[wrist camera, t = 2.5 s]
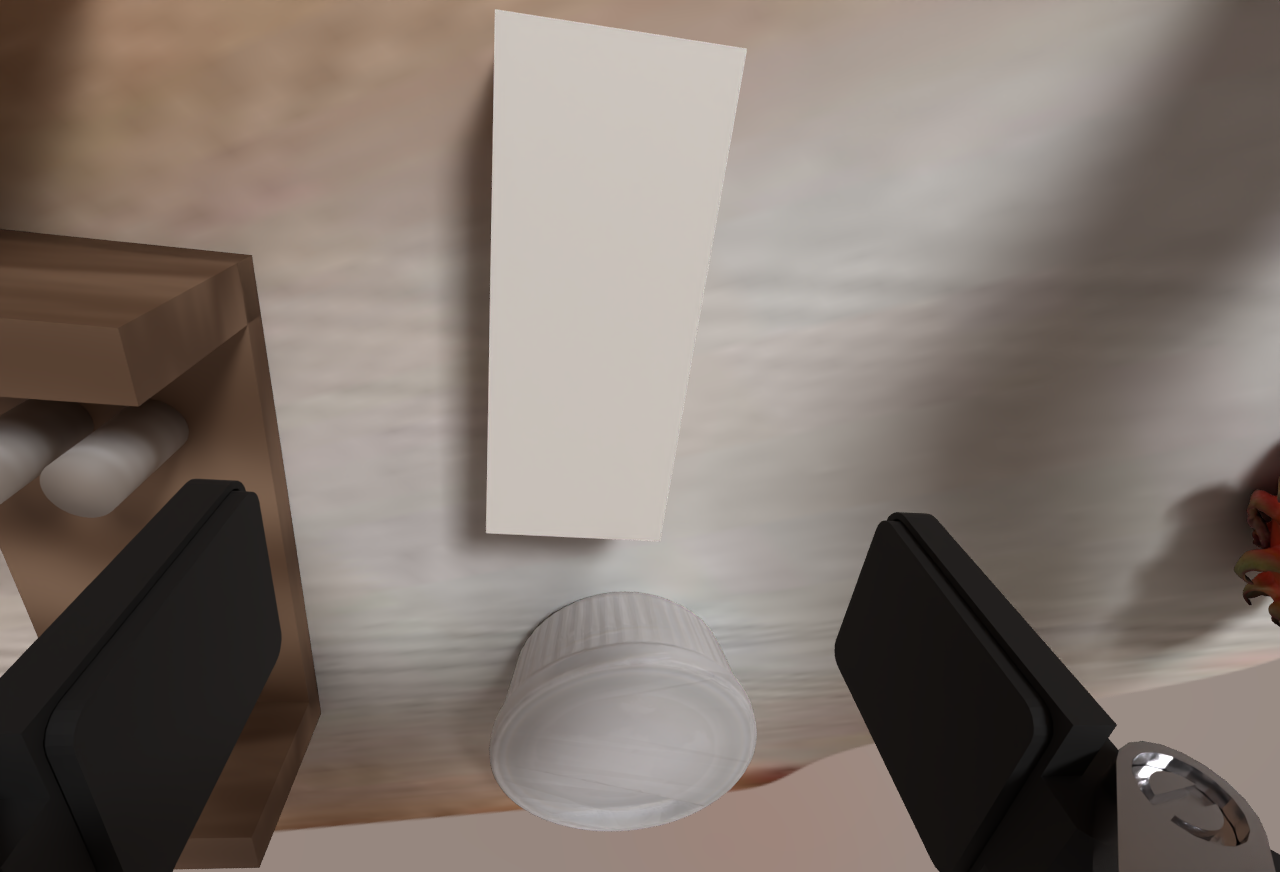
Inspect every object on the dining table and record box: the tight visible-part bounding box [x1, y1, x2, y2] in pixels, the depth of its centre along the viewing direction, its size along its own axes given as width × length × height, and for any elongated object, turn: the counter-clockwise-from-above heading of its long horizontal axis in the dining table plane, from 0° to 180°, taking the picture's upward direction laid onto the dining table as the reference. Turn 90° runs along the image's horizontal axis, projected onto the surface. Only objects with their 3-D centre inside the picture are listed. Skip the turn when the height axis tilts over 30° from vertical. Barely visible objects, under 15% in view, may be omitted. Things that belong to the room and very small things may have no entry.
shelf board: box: [486, 9, 747, 541], centre depth 21 cm, size 15×6×4 cm, turn 173°
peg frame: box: [0, 229, 321, 869], centre depth 22 cm, size 22×10×7 cm, turn 173°
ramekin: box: [489, 592, 757, 831], centre depth 29 cm, size 11×11×5 cm
